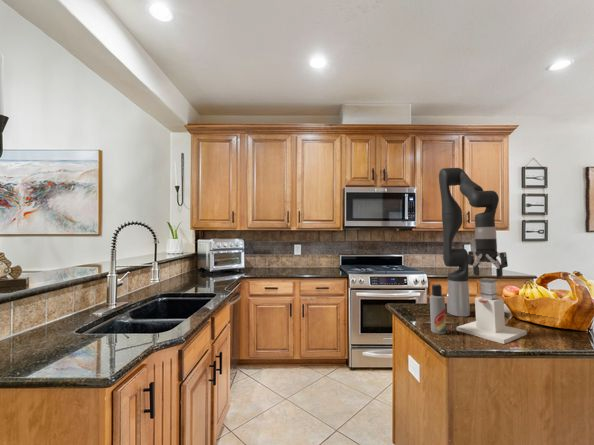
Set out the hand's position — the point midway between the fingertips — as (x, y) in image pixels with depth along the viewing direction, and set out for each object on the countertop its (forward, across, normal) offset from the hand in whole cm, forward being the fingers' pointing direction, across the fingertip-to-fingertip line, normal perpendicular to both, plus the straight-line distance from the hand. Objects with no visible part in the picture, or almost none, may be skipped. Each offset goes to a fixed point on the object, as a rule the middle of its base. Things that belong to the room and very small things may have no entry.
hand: (487, 276), depth 119 cm
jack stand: (+23, 0, 0) cm, 23 cm away
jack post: (+21, 0, 0) cm, 21 cm away
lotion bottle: (+23, +12, +17) cm, 31 cm away
